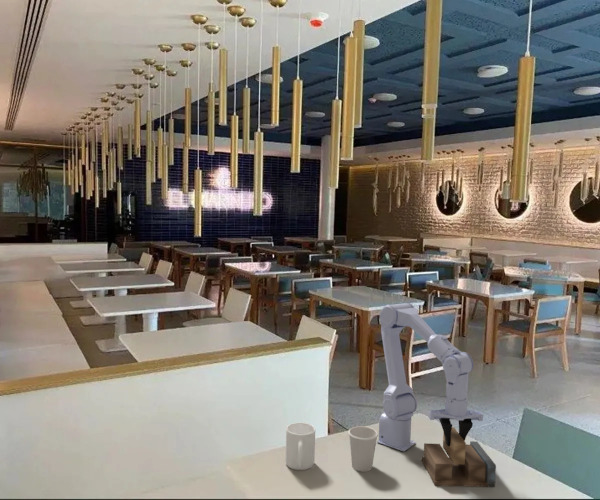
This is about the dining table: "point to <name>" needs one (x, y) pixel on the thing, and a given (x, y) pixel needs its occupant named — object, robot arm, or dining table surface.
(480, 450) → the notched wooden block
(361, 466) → the dixie cup
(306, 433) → the mug
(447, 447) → the tall tan pillar
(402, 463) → the dining table surface
